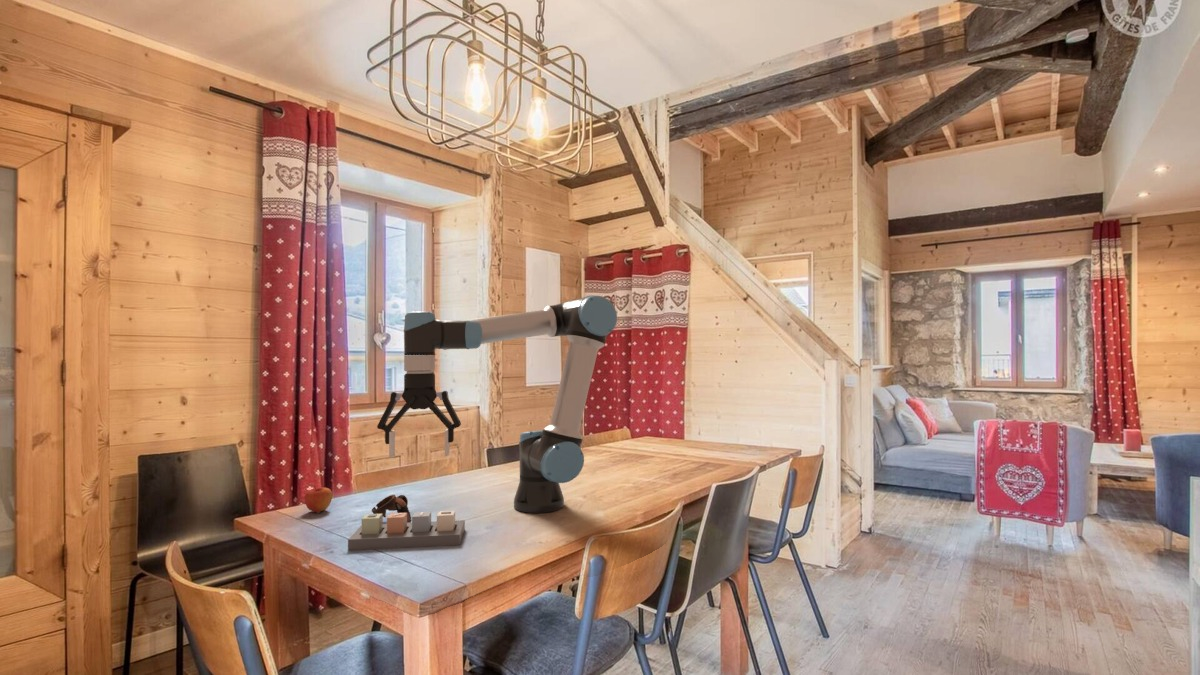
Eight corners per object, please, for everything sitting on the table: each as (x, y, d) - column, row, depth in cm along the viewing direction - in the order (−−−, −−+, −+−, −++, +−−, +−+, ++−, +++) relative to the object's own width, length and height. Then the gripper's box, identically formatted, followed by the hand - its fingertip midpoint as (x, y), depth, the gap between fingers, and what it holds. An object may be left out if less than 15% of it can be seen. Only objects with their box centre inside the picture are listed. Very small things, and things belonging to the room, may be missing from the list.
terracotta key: (407, 528, 146) (407, 511, 146) (403, 533, 142) (403, 516, 142) (390, 529, 146) (390, 512, 146) (386, 534, 142) (386, 516, 142)
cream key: (455, 526, 148) (455, 509, 148) (453, 531, 144) (453, 514, 144) (439, 527, 147) (439, 510, 147) (436, 531, 143) (436, 514, 143)
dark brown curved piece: (406, 528, 155) (390, 503, 154) (378, 541, 157) (361, 517, 156) (422, 505, 167) (407, 482, 166) (396, 518, 169) (380, 495, 167)
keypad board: (464, 529, 152) (464, 520, 152) (459, 544, 140) (459, 534, 140) (362, 534, 149) (362, 524, 149) (347, 550, 137) (348, 539, 137)
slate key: (431, 527, 147) (431, 510, 147) (428, 532, 143) (428, 515, 143) (415, 528, 146) (415, 511, 147) (412, 532, 143) (412, 515, 143)
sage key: (382, 529, 145) (382, 512, 146) (378, 534, 142) (378, 517, 142) (366, 530, 145) (366, 513, 145) (361, 535, 141) (361, 518, 141)
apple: (337, 508, 173) (337, 482, 173) (321, 515, 166) (321, 487, 166) (315, 507, 174) (315, 481, 174) (298, 514, 167) (298, 487, 167)
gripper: (471, 371, 151) (471, 452, 151) (372, 372, 148) (372, 454, 148) (468, 372, 144) (468, 457, 143) (364, 373, 141) (364, 460, 140)
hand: (419, 456), depth 146 cm, fingers open, 13 cm apart
